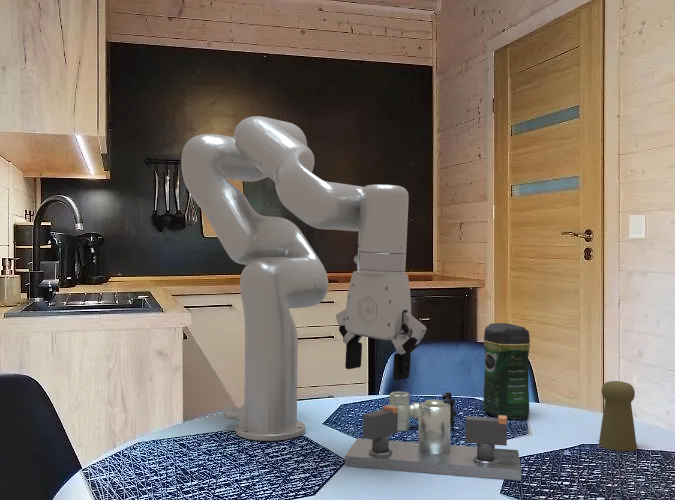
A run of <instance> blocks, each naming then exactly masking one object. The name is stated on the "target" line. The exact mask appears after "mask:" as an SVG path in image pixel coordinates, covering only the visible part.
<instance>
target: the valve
mask: <svg viewBox="0 0 675 500" xmlns="http://www.w3.org/2000/svg"><path fill="white" fill-rule="evenodd" d="M410 396H411V394H410V393H409V392H406V391H392V392H390V393H389V404H388V405H389V406H394V407H398V431H397V432H402V431H403V432H405V431H408V430H409V429H410V418H412V419H413V420H419V404H420V402H412V403H411V404H409V403H410ZM441 399H442V401H443V402H444V403H447V404H449V405H450V406H451V409H450V429H451V428H452V427H455V425H456V423H455V420H454V417H456V416H457V411H456V409H455V408H454V406H455V404H456V400H455V399H454V398H452V392H445V393H444V394H442V395H441ZM454 409H455V410H454Z"/></svg>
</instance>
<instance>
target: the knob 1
mask: <svg viewBox="0 0 675 500" xmlns="http://www.w3.org/2000/svg"><path fill="white" fill-rule="evenodd" d="M389 405H390V404H387V405H383V406H382V409H380V410H379V409H378V410H375V411H371V412H367V413H364V414H363V415H362V416H363V418H362V419H363V421H362V423H363V425H362V438H363V439H372V451H373V452H375V453H387V452H389V441H390V435H393V434H395V433H396V434H397V433H398V432H399V431H398V407H394V406H389Z"/></svg>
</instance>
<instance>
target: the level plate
mask: <svg viewBox="0 0 675 500" xmlns="http://www.w3.org/2000/svg"><path fill="white" fill-rule="evenodd" d="M443 401H444V400H443V399H442V400H440V399H435V398H434V399H426V400H425V401H422V402H419V419H418V434H417V435H418V439H417V440H418V442H412V441H400V440H389V452H387V453H375V452H373V451H372V439H368V438H360V437H359V438H356V440H355V441H354V443H353V444H352V445H351V447H350V448H349V450H348V451H347V452H346V454H345V456H344V466H345V467H354V468H367V469H379V470H391V471H400V472H401V471H403V472H415V473H425V474H426V473H427V474H437V475H449V476H460V477H472V478H473V477H474V478H484V479H485V478H486V479H497V480H508V481H509V480H510V481H520V482H521V481H522V466H521V461H520V460H521V459H520V454H519V450H518V449H509V448H508V449H507V448H496V447H495V460H494V461H492V462H484V461H480V460H478V459H477V446H468V445H453V444H451V428H450V409H451V406H450V405H449V403H448V404H447V403H444V402H443Z"/></svg>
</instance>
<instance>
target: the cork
mask: <svg viewBox="0 0 675 500" xmlns="http://www.w3.org/2000/svg"><path fill="white" fill-rule="evenodd" d="M635 393H636V391H635V388H634V386H633V385H632V384H630V383H628V382H625V381H620V380H619V381H618V380H611V381H610V380H609V381H606V382H605V383H603V385H602V387H601V395H602V398H603V399H604V406H603V413H602V420H601V426H600V427H601V428H600V433H599V439H598V446H599V447H601V448H603V449H605V448H606V450H609V449H611V450H610V451H613V450H616V451H615V452H622V451H630V452H635V451H637V450H638V445H637V438H636V432H635V431H636V430H635V423H634V414H633V408H632V402H633V400H634V399H635V397H636V394H635ZM636 449H637V450H636ZM634 450H635V451H634Z"/></svg>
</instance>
